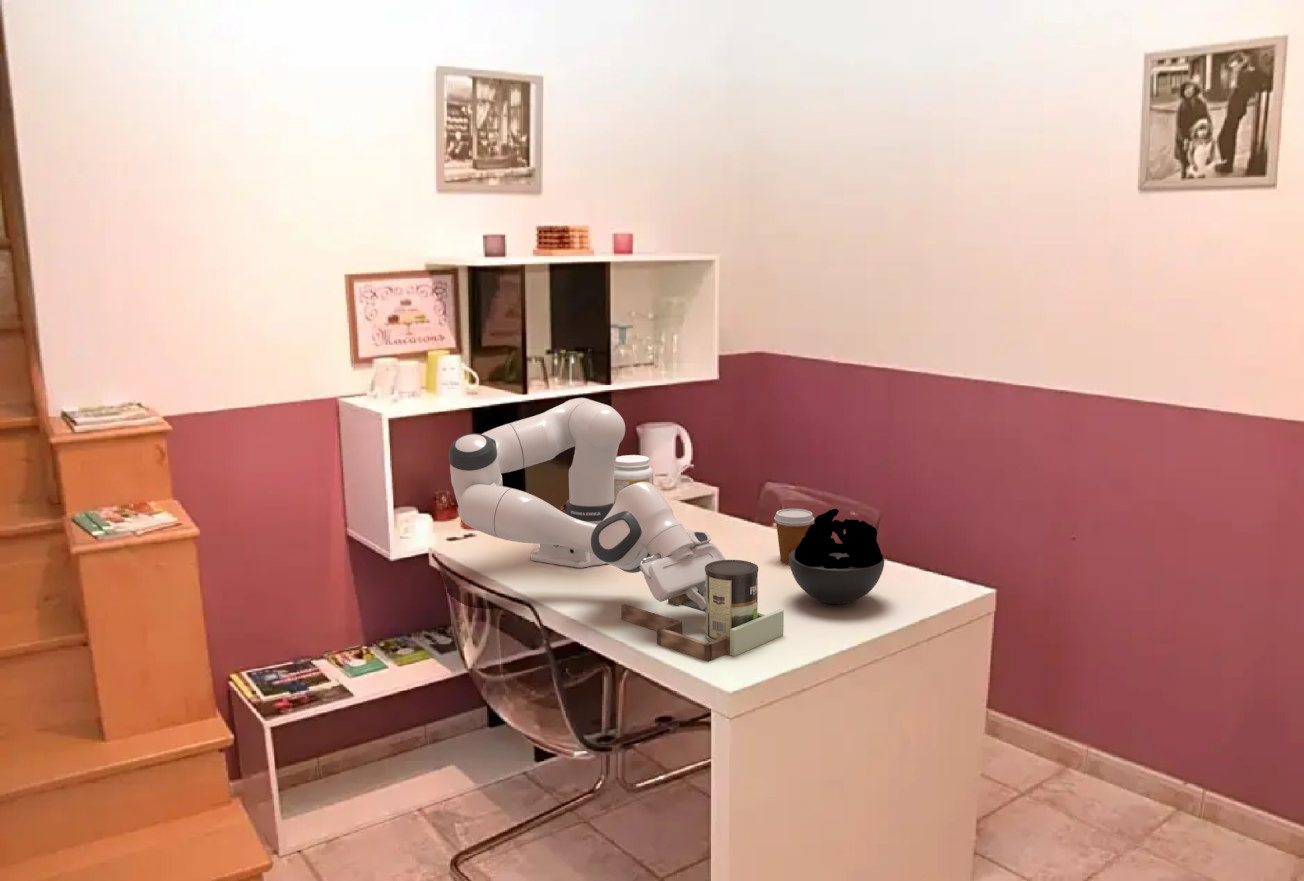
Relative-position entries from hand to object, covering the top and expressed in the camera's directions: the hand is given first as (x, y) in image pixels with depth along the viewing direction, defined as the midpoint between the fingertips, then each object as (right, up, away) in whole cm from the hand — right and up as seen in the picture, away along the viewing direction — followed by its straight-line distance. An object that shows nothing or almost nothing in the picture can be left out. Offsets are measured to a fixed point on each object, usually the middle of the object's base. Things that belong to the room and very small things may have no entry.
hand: (708, 606), depth 208 cm
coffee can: (+4, -6, -3) cm, 8 cm away
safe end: (+9, -6, -7) cm, 13 cm away
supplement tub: (-17, +11, +91) cm, 93 cm away
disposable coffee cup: (+23, +3, +46) cm, 52 cm away
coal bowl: (+28, -2, +17) cm, 33 cm away
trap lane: (-2, -5, +3) cm, 5 cm away
